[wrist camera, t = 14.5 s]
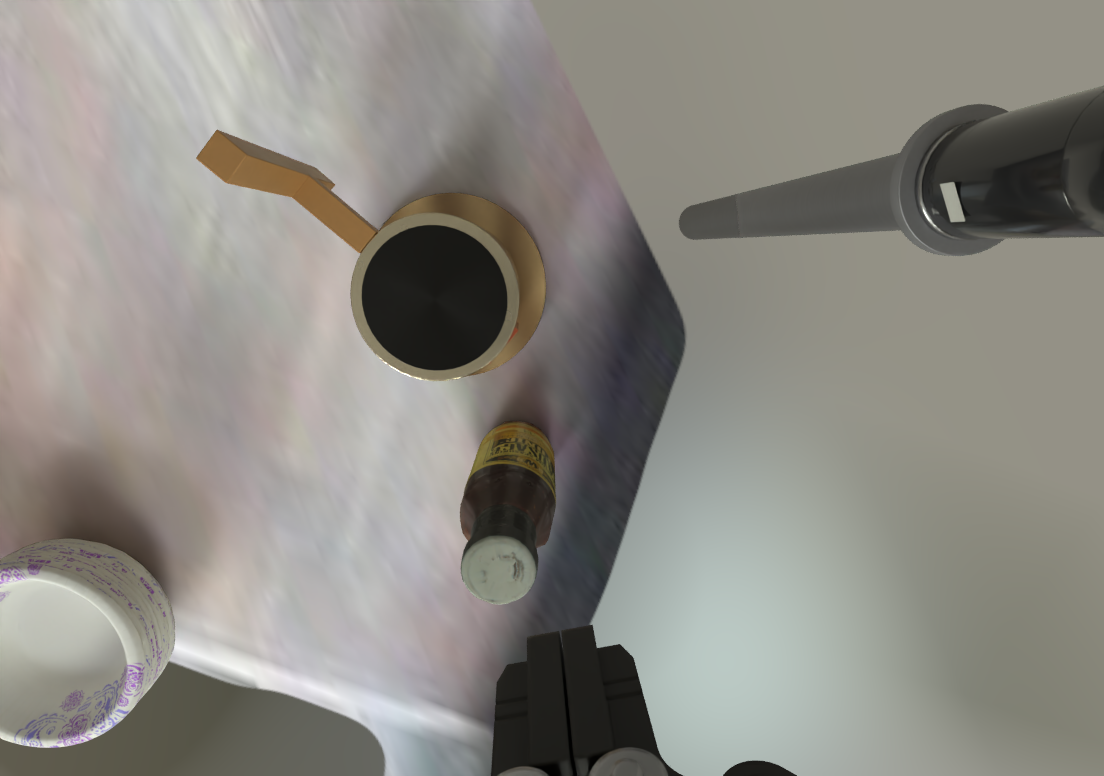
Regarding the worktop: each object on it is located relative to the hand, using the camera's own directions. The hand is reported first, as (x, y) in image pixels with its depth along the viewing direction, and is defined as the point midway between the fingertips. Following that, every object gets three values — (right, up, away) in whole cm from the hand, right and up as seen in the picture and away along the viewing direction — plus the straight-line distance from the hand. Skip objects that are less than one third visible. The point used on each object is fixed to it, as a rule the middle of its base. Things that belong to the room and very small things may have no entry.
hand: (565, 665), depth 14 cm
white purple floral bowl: (-39, -12, +39) cm, 56 cm away
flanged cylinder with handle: (-10, +16, +33) cm, 38 cm away
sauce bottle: (-3, +1, +38) cm, 38 cm away
